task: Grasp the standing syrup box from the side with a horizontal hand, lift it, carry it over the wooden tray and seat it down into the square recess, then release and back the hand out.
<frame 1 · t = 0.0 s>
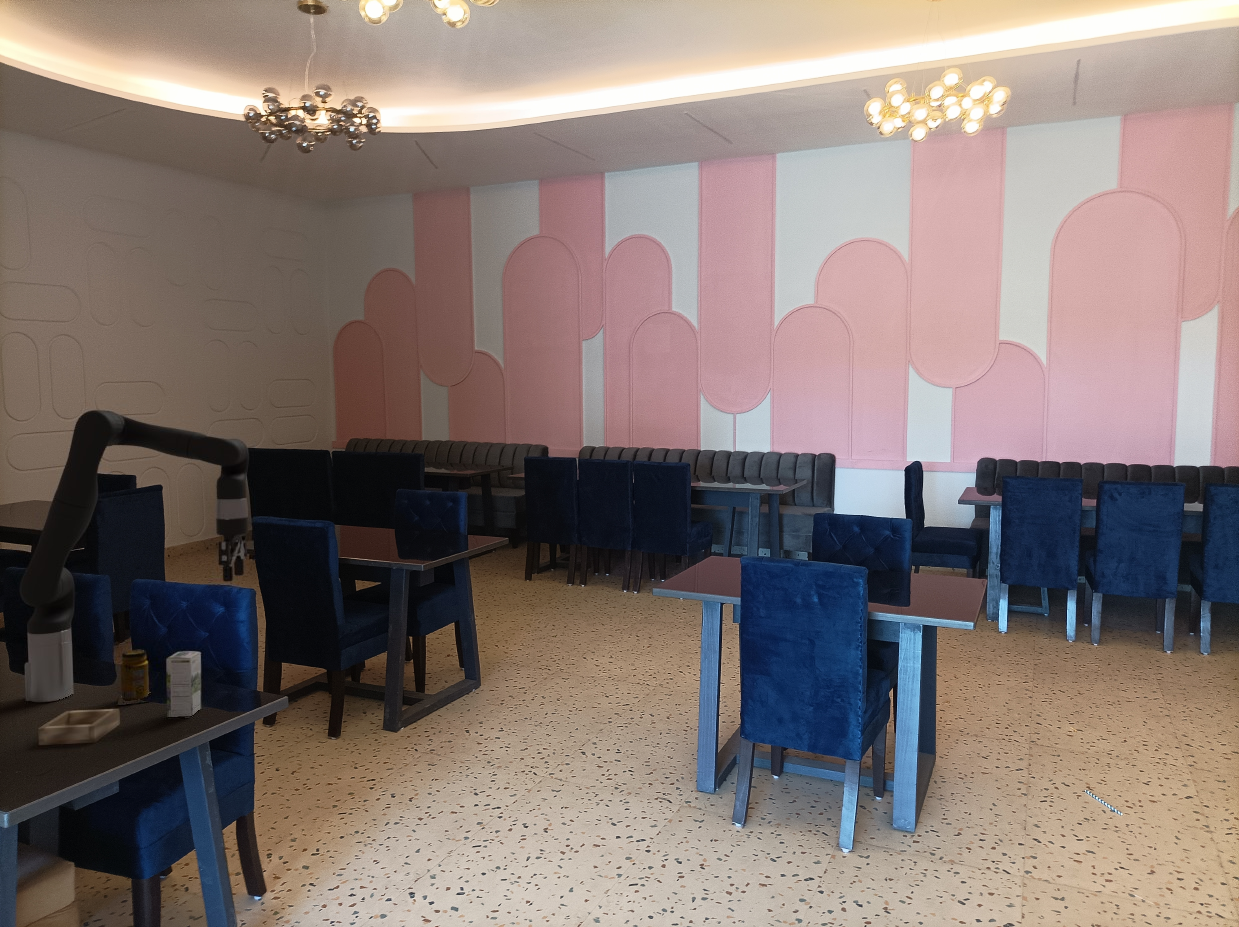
hand: (233, 578, 219), 29 cm above the table, tool pointing down, fingers open, 8 cm apart
syrup box: (184, 715, 202), on the table
wooden tray: (80, 734, 189), on the table
condiment: (134, 700, 213), on the table
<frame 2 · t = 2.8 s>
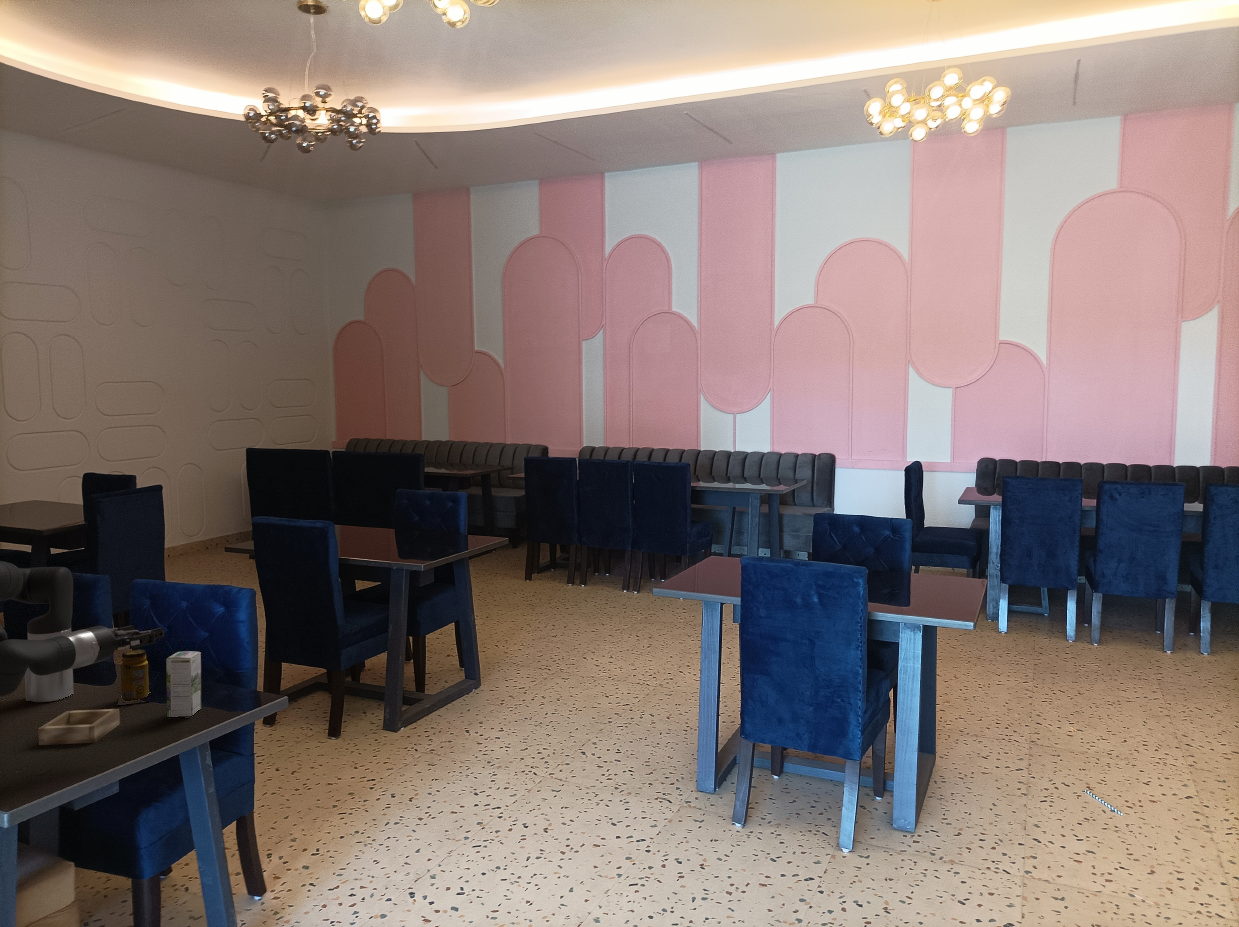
hand: (148, 631, 192), 22 cm above the table, tool horizontal, fingers open, 8 cm apart
nothing on the table moved.
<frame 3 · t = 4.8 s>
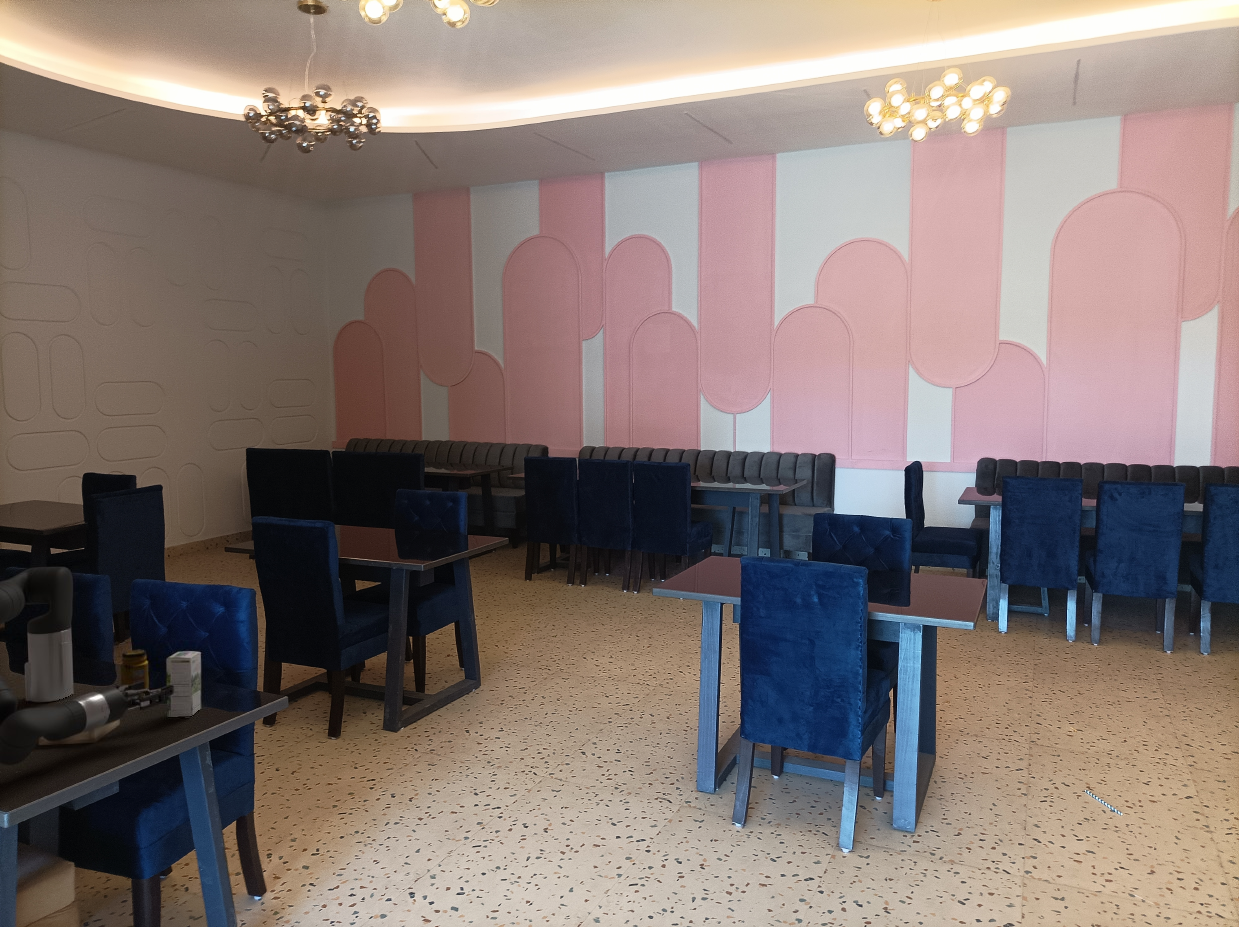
hand: (158, 687, 194), 9 cm above the table, tool horizontal, fingers open, 8 cm apart
nothing on the table moved.
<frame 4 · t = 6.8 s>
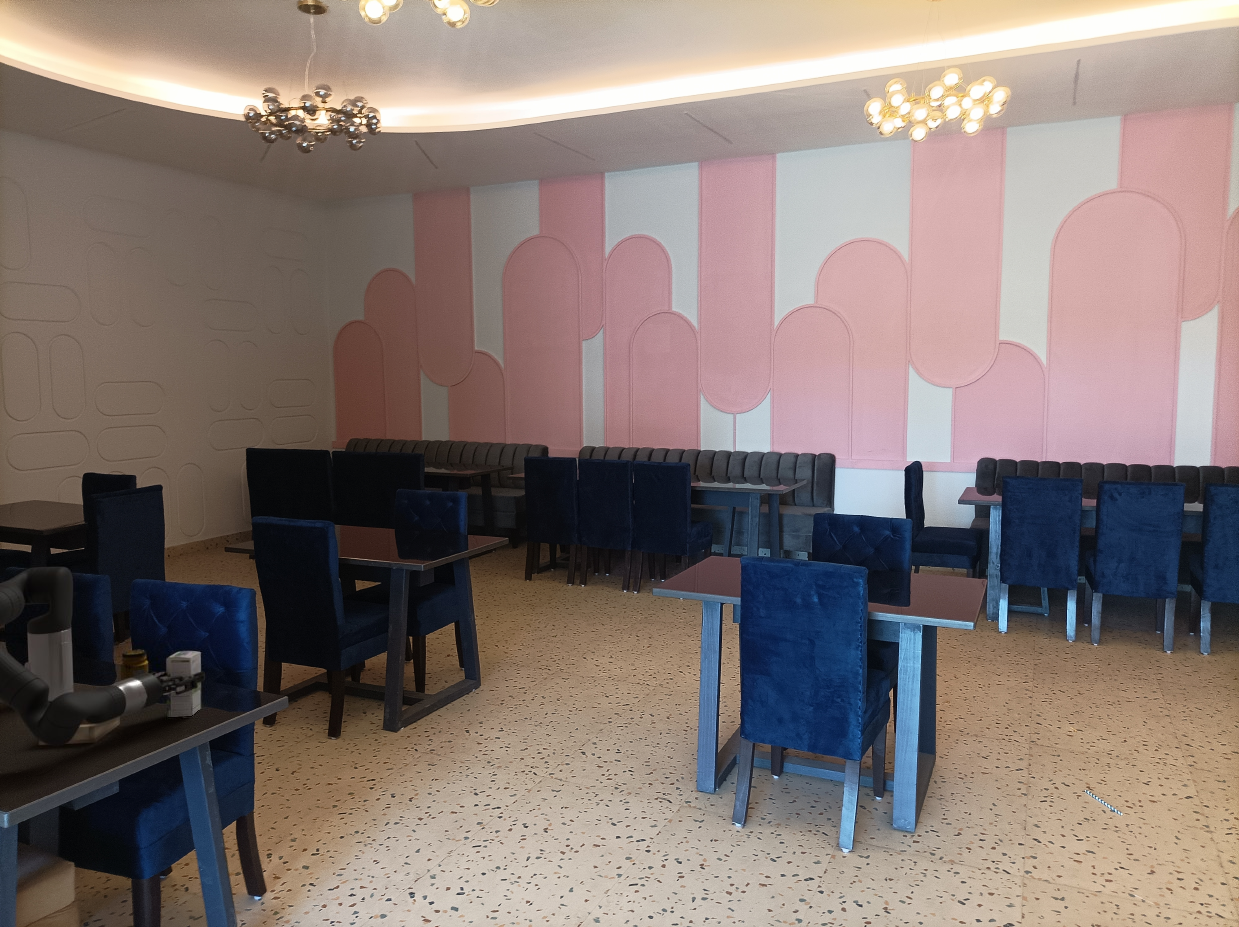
hand: (191, 674, 203), 9 cm above the table, tool horizontal, fingers closed on syrup box, 7 cm apart
syrup box: (184, 714, 202), on the table, touching gripper
everything else where it was.
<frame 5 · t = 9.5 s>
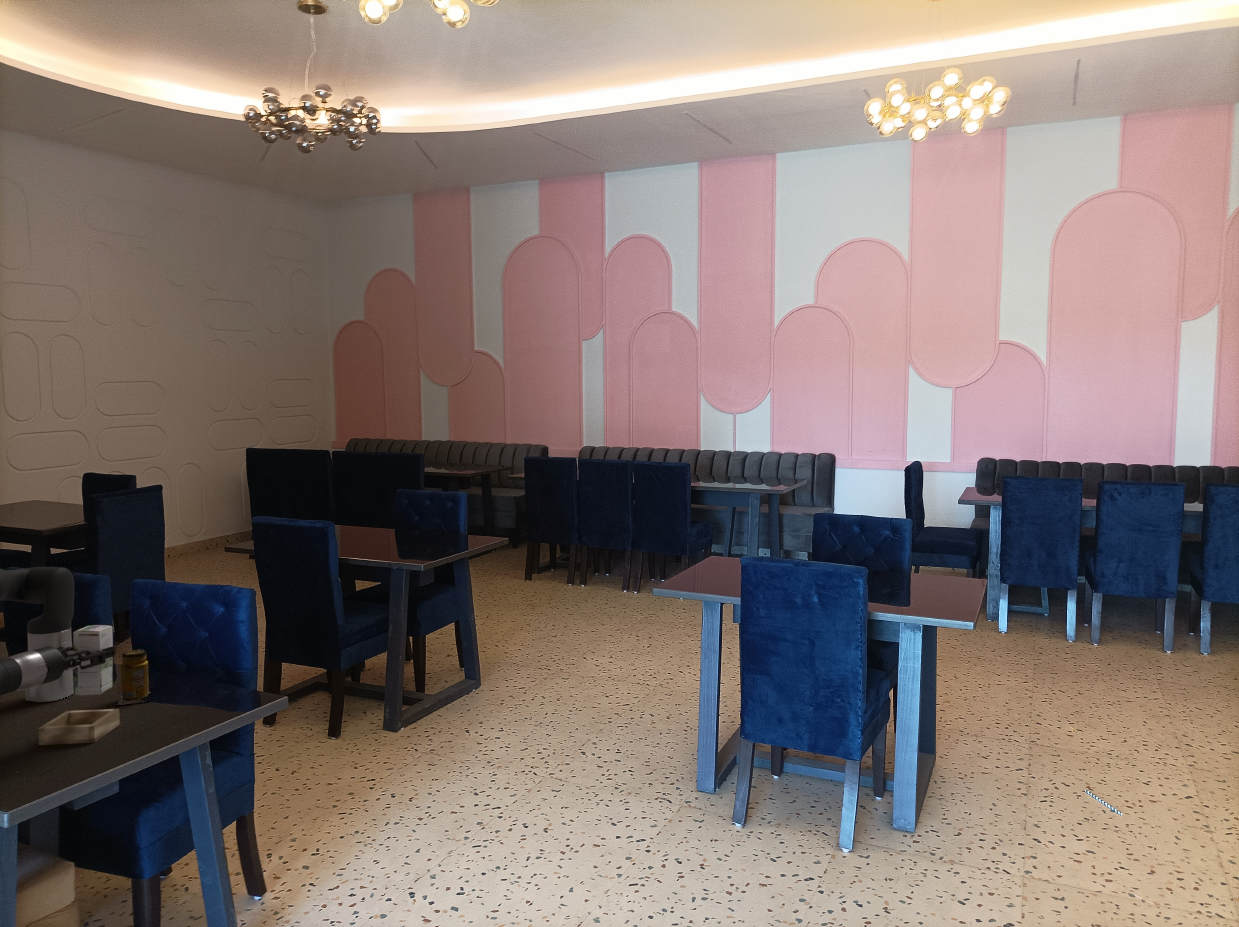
hand: (101, 649, 192), 18 cm above the table, tool horizontal, fingers closed on syrup box, 7 cm apart
syrup box: (94, 692, 190), point 9 cm above the table, touching gripper
everything else where it was.
when the fingers open (11 cm above the table, at t = 12.4 s): syrup box stays where it is, resting on wooden tray.
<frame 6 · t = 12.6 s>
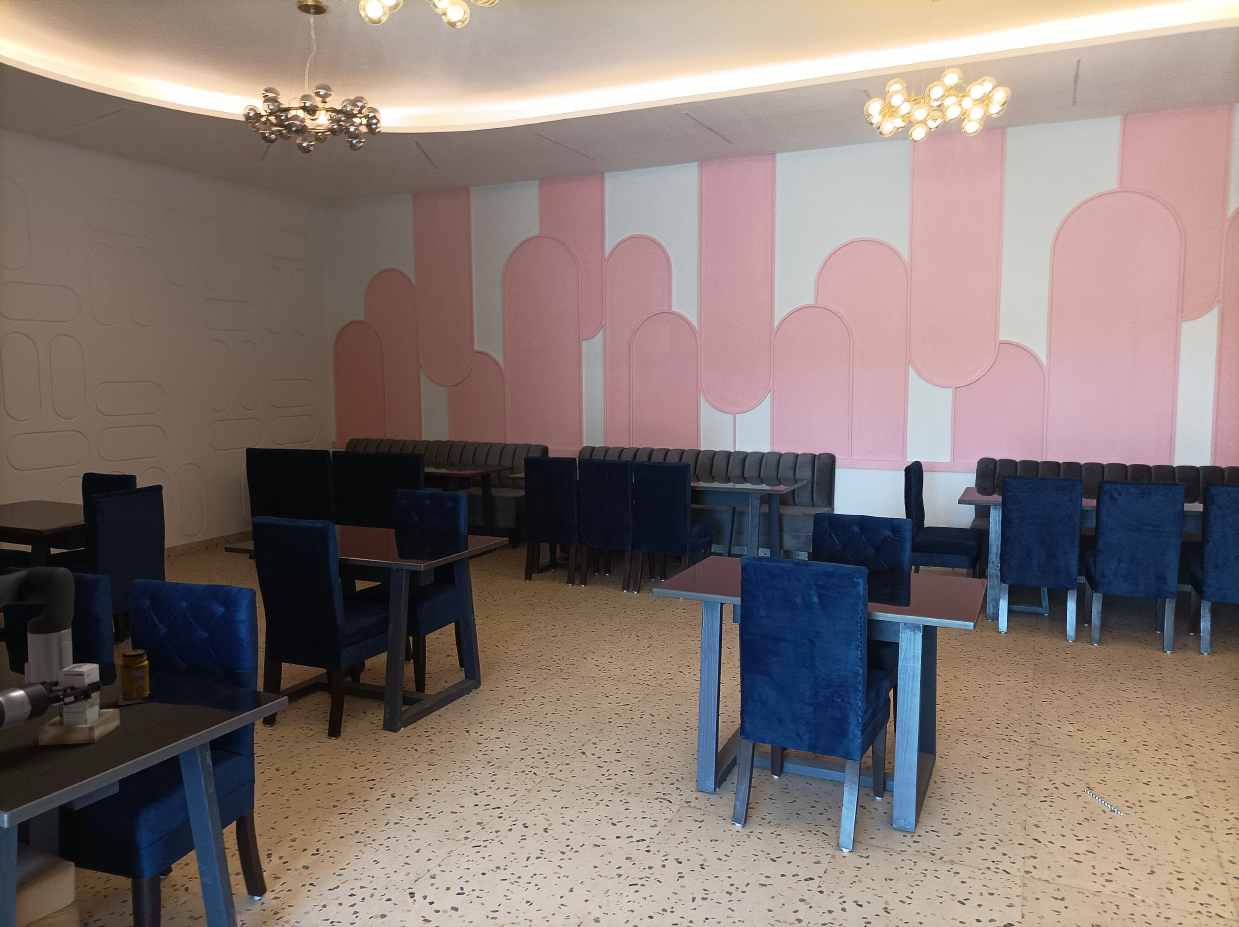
hand: (86, 683, 190), 11 cm above the table, tool horizontal, fingers open, 8 cm apart
syrup box: (80, 731, 189), point 1 cm above the table, touching wooden tray
everything else where it was.
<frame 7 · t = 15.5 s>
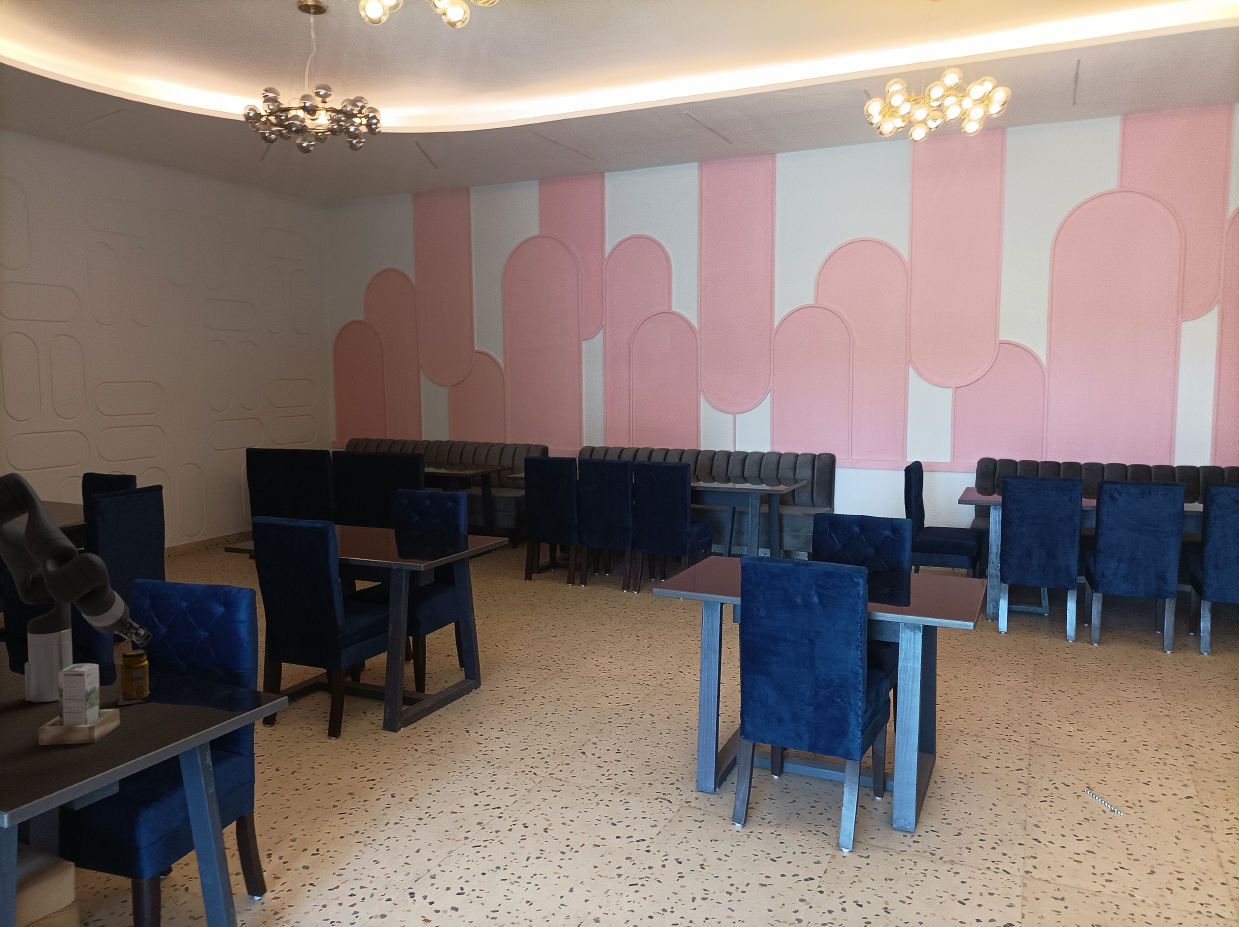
hand: (127, 636, 195), 20 cm above the table, tool tilted 55°, fingers open, 8 cm apart
nothing on the table moved.
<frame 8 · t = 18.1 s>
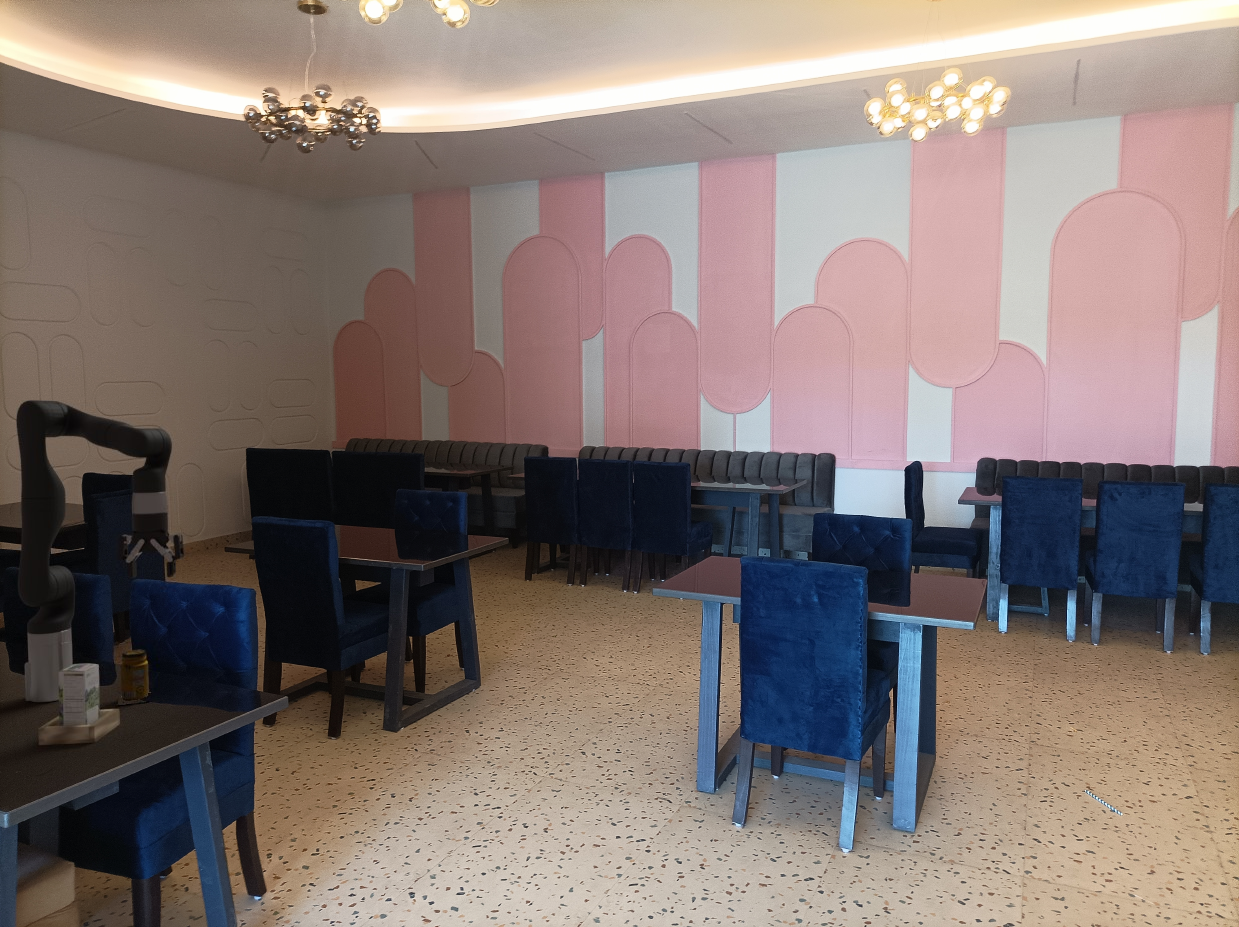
hand: (152, 577, 205), 32 cm above the table, tool pointing down, fingers open, 8 cm apart
nothing on the table moved.
at the end: syrup box 0.2 cm from the wooden tray (horizontally); syrup box tilted 0°; the gripper is holding nothing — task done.
